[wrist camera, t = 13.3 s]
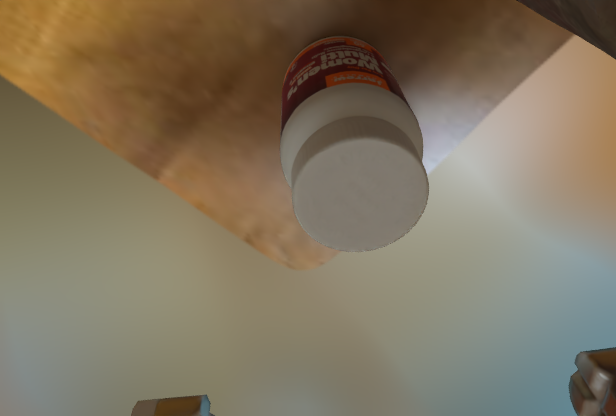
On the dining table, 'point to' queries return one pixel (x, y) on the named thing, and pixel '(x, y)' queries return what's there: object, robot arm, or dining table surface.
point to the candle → (582, 19)
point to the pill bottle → (350, 147)
